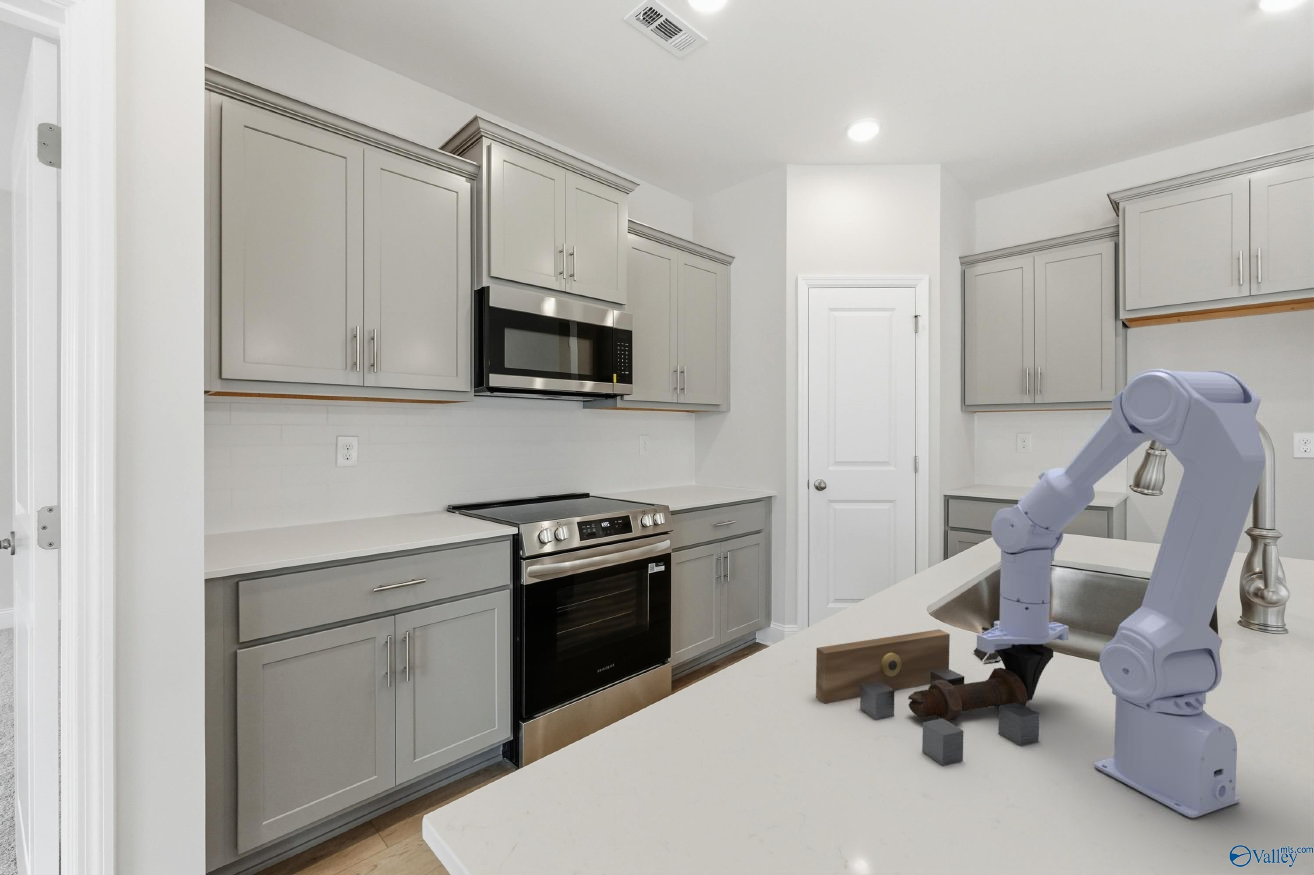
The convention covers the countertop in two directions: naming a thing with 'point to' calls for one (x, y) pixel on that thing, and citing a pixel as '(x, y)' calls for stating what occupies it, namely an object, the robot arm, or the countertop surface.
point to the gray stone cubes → (940, 734)
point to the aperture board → (880, 663)
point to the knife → (991, 657)
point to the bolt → (968, 696)
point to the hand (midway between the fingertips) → (1022, 697)
